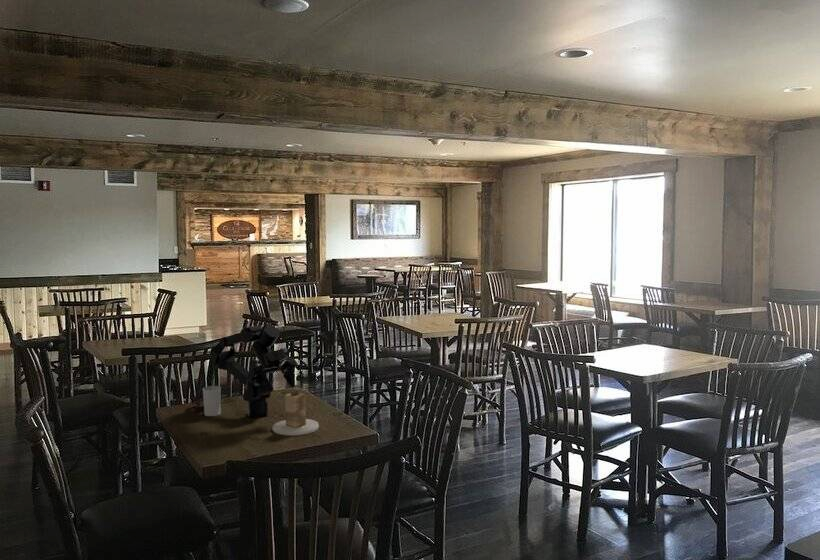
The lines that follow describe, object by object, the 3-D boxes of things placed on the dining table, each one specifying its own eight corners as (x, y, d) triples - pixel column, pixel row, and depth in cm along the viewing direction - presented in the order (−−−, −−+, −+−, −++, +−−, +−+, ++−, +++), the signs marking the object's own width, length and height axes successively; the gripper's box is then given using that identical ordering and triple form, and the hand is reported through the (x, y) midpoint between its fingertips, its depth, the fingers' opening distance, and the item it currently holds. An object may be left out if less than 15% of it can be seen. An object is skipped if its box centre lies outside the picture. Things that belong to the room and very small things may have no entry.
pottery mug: (212, 412, 247) (200, 394, 246) (197, 420, 251) (185, 402, 251) (231, 397, 257) (220, 380, 256) (216, 404, 262) (205, 388, 261)
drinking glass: (223, 411, 247) (223, 385, 246) (219, 416, 240) (218, 390, 239) (206, 411, 247) (205, 386, 246) (201, 416, 240) (200, 390, 239)
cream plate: (278, 438, 215) (278, 434, 215) (268, 425, 229) (268, 421, 229) (324, 431, 222) (324, 428, 222) (311, 419, 236) (311, 416, 236)
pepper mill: (294, 428, 222) (293, 391, 221) (285, 425, 225) (285, 389, 224) (305, 425, 225) (305, 388, 224) (297, 422, 229) (296, 386, 228)
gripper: (251, 344, 225) (270, 380, 218) (294, 337, 238) (313, 371, 232) (239, 363, 231) (257, 398, 224) (282, 355, 244) (300, 389, 238)
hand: (282, 388), depth 229 cm, fingers open, 9 cm apart
